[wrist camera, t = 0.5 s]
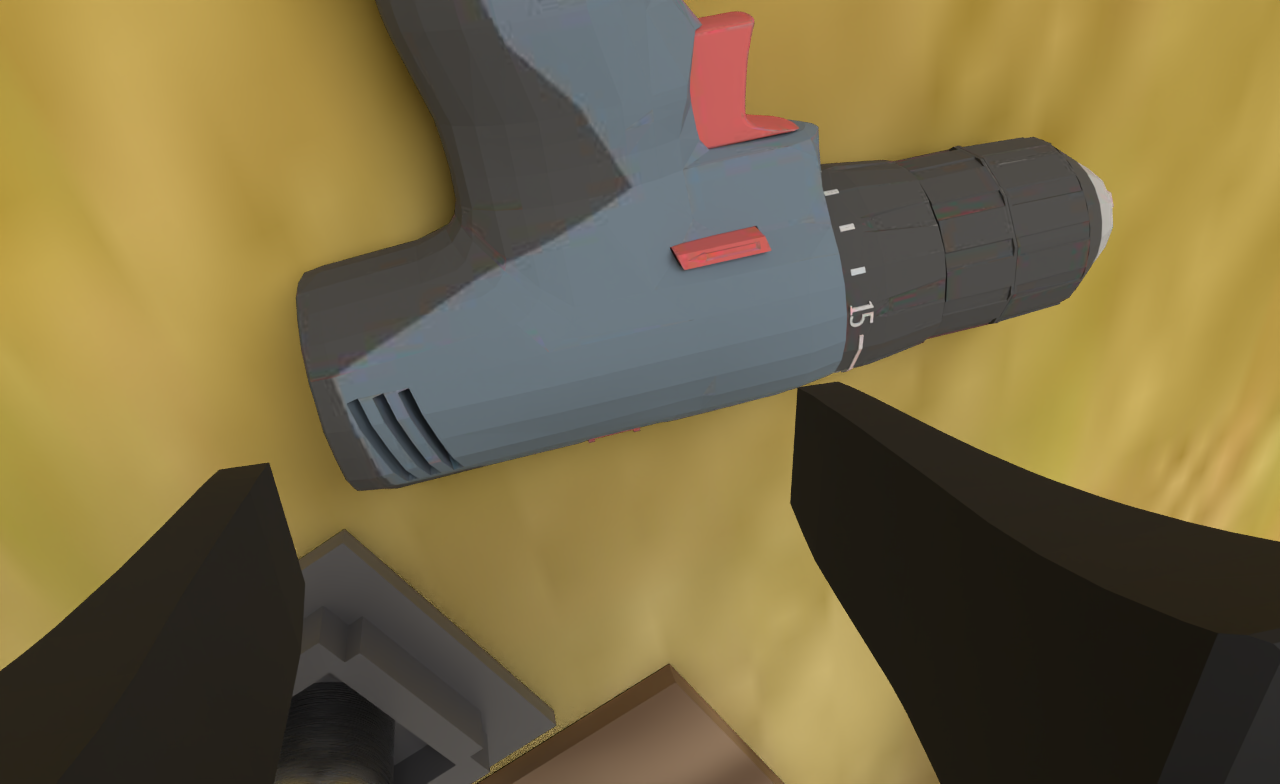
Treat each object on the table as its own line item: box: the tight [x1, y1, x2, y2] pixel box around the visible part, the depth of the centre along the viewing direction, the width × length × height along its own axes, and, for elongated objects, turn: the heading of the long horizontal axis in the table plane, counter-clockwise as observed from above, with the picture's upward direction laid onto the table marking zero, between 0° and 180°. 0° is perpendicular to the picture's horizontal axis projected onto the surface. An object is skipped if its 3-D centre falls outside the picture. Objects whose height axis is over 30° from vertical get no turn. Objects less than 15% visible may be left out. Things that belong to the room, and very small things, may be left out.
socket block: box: [292, 529, 556, 784], centre depth 26 cm, size 10×10×2 cm
